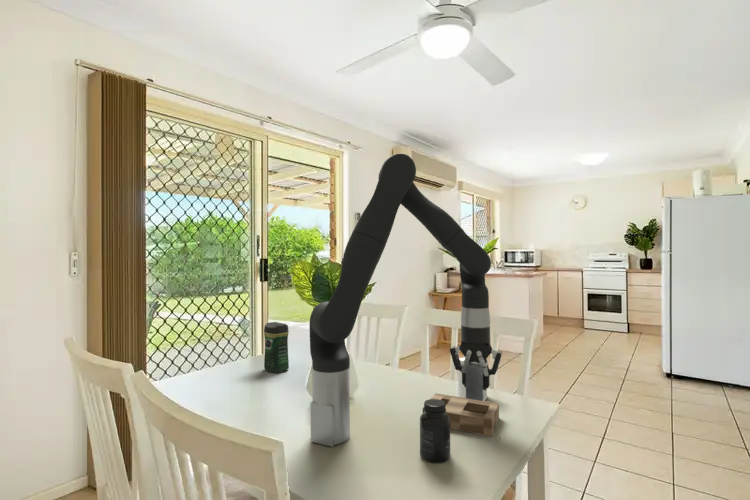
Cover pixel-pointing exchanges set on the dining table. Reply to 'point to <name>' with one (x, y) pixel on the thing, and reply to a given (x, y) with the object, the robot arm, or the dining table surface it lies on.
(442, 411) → the supplement bottle
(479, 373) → the steel square peg
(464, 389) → the white upright block
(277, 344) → the coffee jar
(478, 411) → the socket board
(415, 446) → the dining table surface
